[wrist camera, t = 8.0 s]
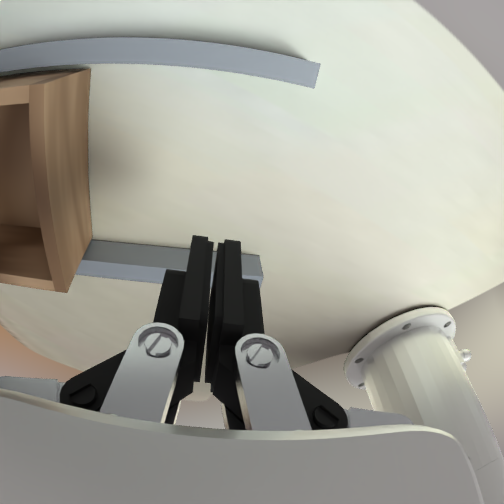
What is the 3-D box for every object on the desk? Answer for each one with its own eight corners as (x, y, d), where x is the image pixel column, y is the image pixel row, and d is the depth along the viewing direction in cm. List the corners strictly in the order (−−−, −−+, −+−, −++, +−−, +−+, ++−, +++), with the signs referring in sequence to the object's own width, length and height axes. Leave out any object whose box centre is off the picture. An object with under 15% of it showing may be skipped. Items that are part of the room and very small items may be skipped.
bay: (308, 60, 14) (320, 63, 12) (255, 270, 21) (259, 291, 20) (-58, 64, 9) (-78, 71, 8) (-33, 240, 17) (-46, 257, 15)
